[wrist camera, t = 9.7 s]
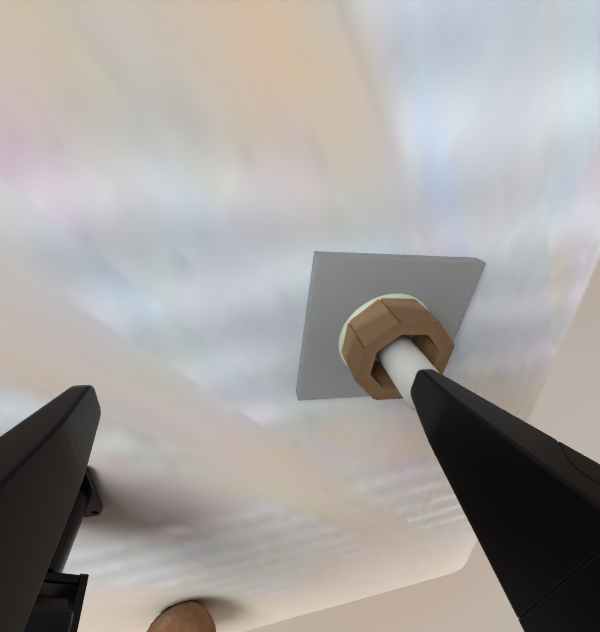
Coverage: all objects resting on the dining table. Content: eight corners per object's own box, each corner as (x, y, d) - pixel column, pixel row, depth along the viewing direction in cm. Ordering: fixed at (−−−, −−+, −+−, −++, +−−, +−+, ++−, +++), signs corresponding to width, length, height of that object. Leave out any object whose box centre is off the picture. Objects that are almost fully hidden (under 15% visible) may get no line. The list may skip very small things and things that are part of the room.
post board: (425, 384, 28) (476, 451, 22) (296, 391, 26) (315, 469, 20) (476, 257, 22) (564, 304, 16) (314, 251, 20) (349, 303, 14)
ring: (412, 369, 25) (432, 396, 23) (336, 372, 24) (349, 401, 21) (439, 299, 22) (465, 320, 20) (353, 297, 21) (370, 320, 18)
